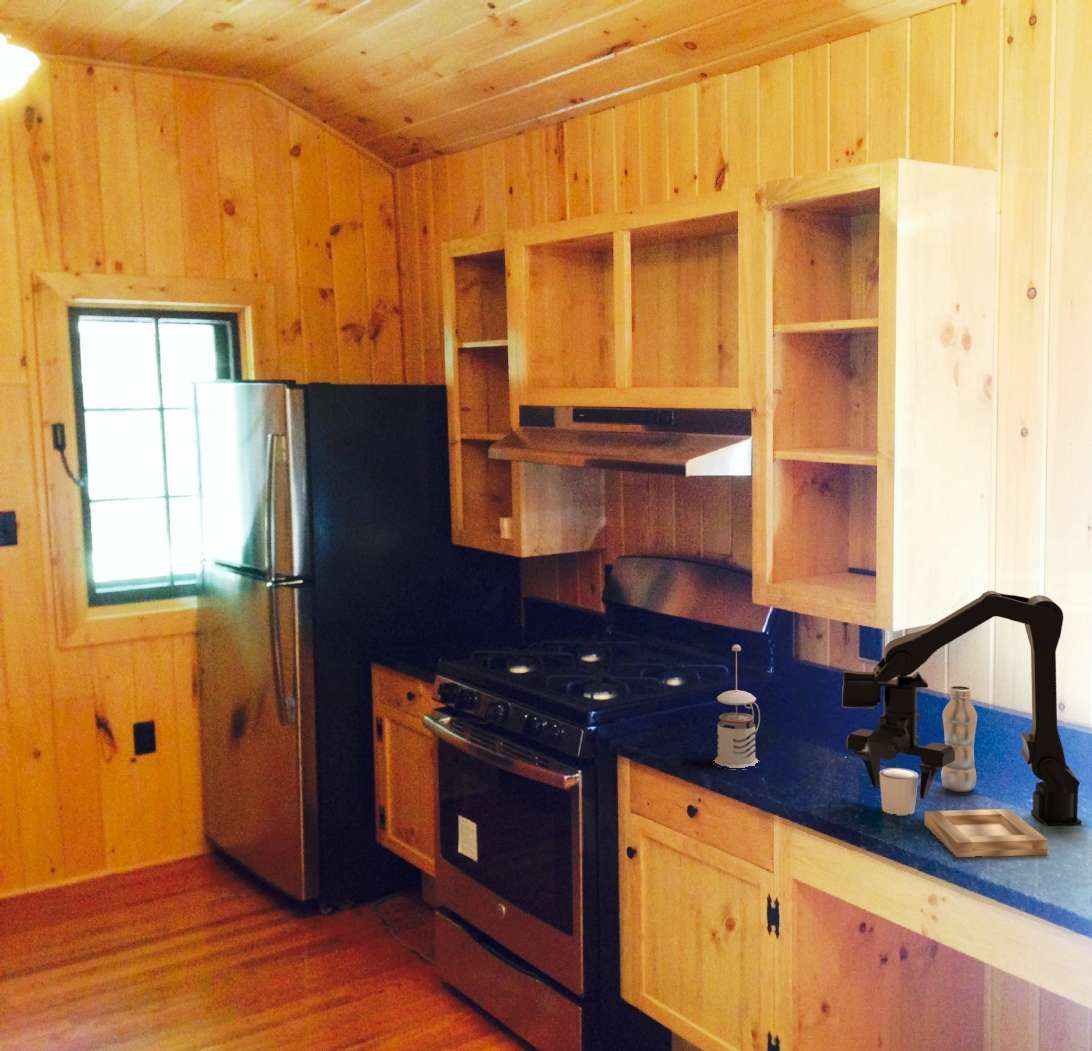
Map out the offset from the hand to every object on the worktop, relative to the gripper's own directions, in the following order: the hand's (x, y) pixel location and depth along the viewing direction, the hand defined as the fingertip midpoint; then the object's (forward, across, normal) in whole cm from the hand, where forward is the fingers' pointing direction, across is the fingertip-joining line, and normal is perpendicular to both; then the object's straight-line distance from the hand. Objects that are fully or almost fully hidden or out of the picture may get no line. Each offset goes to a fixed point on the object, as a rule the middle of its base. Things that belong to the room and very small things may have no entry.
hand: (899, 793), depth 215 cm
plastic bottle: (+3, +3, +18) cm, 18 cm away
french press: (+3, -39, +6) cm, 40 cm away
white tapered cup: (+3, 0, 0) cm, 3 cm away
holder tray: (+3, +18, -4) cm, 18 cm away
